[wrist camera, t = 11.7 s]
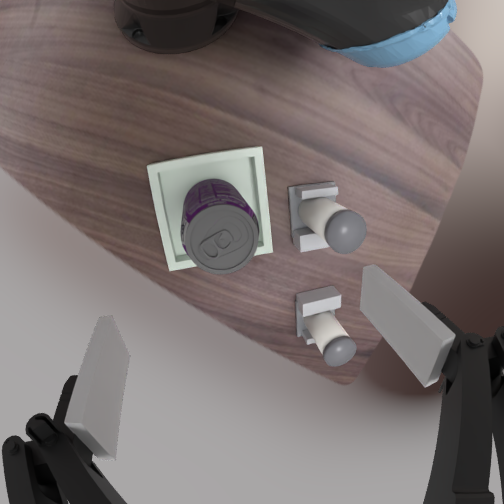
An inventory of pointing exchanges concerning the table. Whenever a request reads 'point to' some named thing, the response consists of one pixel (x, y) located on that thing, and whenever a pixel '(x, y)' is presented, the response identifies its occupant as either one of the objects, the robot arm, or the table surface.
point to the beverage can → (218, 227)
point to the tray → (194, 171)
